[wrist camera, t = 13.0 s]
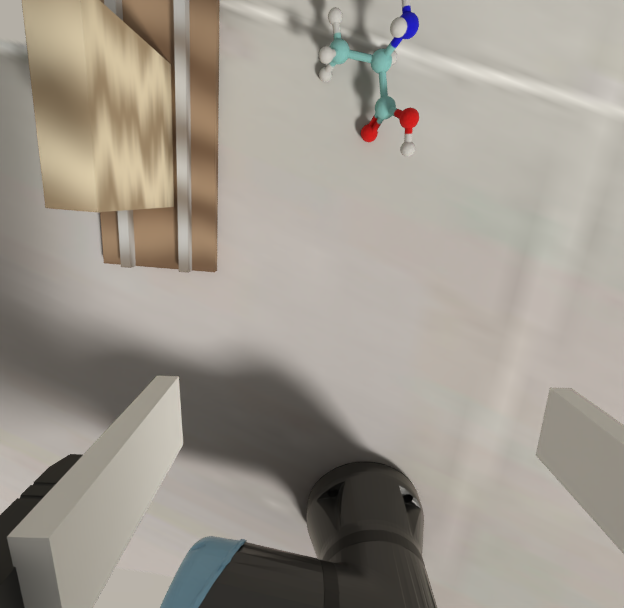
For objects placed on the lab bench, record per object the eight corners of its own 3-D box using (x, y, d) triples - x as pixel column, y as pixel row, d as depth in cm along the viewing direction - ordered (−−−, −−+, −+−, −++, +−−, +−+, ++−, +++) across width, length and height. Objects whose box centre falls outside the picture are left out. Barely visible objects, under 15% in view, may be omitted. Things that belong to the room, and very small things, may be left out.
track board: (216, 270, 41) (211, 274, 39) (108, 261, 41) (97, 265, 39) (219, -8, 34) (212, -21, 32) (88, -20, 34) (73, -34, 32)
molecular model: (272, 99, 33) (335, 21, 24) (316, 25, 36) (388, -71, 27) (365, 181, 38) (445, 141, 29) (398, 110, 41) (481, 54, 32)
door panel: (174, 206, 39) (97, 212, 25) (140, 204, 39) (45, 208, 25) (170, 64, 35) (79, -18, 22) (133, 61, 35) (18, -24, 22)
